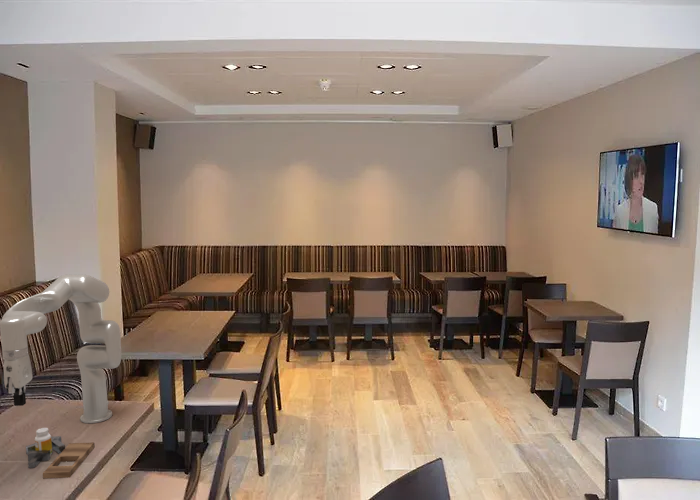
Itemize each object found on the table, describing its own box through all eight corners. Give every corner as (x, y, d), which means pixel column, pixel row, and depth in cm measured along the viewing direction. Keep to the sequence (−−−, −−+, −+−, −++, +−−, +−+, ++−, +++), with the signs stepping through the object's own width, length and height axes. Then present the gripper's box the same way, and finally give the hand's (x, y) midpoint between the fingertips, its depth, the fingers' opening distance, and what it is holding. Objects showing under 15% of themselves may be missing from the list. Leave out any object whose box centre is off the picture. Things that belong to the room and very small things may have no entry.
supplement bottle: (55, 451, 218) (53, 426, 216) (48, 458, 212) (46, 433, 211) (40, 451, 217) (38, 426, 216) (33, 458, 212) (31, 433, 211)
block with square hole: (70, 448, 220) (69, 443, 219) (94, 447, 220) (94, 442, 220) (43, 478, 198) (42, 473, 198) (70, 477, 198) (69, 471, 198)
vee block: (36, 444, 223) (35, 437, 223) (73, 443, 224) (73, 435, 223) (24, 455, 214) (23, 448, 214) (63, 454, 215) (63, 446, 215)
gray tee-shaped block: (30, 458, 212) (30, 450, 211) (50, 457, 212) (49, 450, 212) (21, 468, 205) (20, 460, 204) (41, 467, 205) (40, 459, 205)
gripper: (15, 359, 188) (20, 413, 191) (37, 346, 203) (41, 396, 206) (-9, 360, 188) (-4, 414, 190) (15, 346, 203) (19, 396, 205)
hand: (20, 404), depth 198 cm, fingers closed
